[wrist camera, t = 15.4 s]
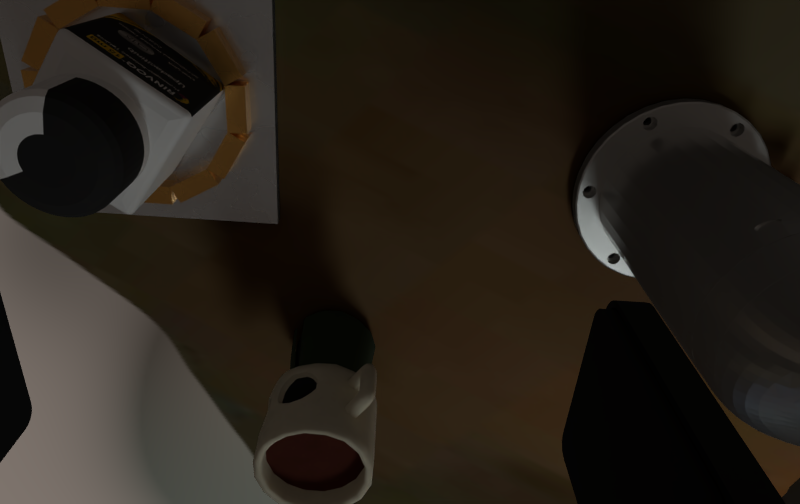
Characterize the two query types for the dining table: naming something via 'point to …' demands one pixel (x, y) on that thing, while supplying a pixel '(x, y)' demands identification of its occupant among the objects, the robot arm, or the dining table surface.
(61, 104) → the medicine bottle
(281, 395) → the character mug
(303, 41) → the dining table surface
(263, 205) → the white square ringed board
